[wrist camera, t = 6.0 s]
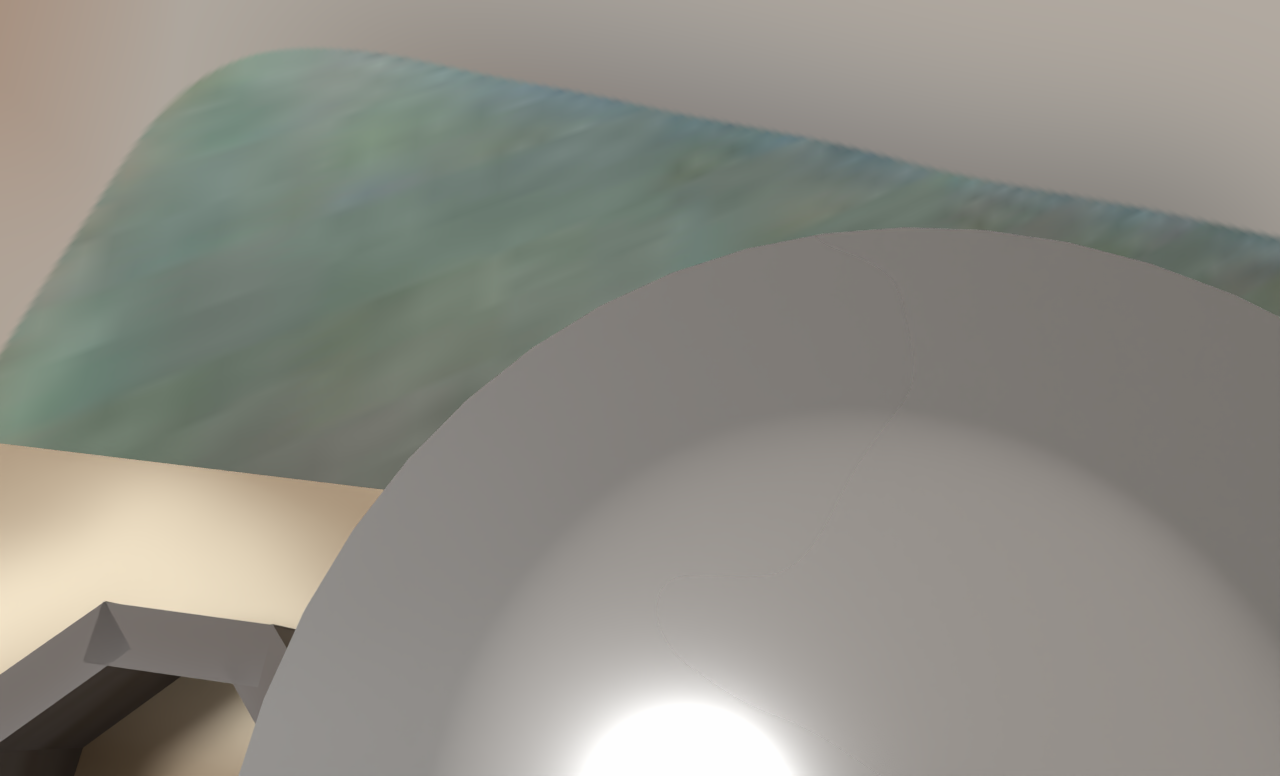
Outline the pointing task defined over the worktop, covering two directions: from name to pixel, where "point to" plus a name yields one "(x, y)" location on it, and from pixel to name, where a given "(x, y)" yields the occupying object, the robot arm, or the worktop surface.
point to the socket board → (150, 607)
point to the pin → (826, 534)
